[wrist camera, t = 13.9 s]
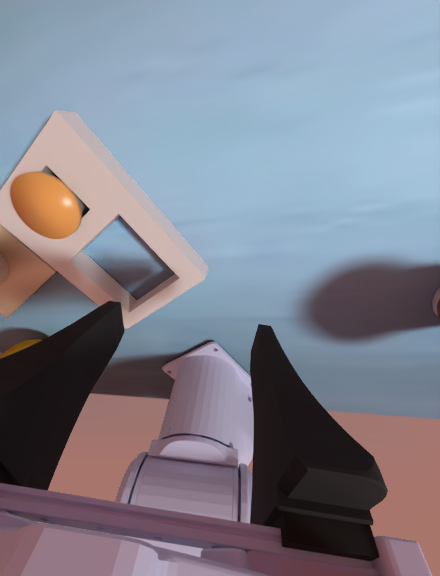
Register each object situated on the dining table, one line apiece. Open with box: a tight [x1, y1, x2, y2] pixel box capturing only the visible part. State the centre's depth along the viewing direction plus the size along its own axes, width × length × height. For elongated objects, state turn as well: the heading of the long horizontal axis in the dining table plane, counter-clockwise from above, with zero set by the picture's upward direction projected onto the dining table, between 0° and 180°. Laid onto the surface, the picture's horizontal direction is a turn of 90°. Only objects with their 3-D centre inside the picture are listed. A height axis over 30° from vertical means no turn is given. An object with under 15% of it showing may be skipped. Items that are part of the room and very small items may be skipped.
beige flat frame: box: [0, 110, 209, 329], centre depth 20 cm, size 14×10×2 cm
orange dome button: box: [10, 171, 89, 239], centre depth 18 cm, size 4×4×3 cm
